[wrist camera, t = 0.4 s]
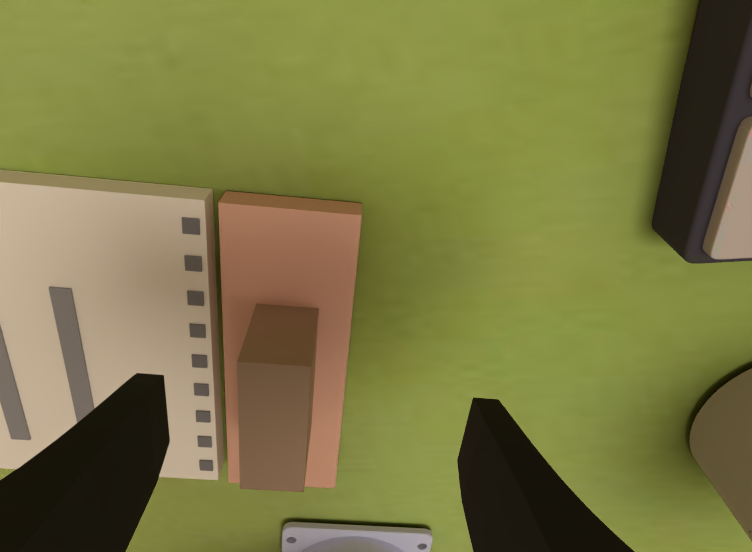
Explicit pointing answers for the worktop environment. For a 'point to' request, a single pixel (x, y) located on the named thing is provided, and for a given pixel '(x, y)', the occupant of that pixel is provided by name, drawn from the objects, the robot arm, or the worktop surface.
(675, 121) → the calculator
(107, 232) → the cream notepad
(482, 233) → the worktop surface
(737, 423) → the travel mug
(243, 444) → the pink block with handle
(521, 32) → the worktop surface
